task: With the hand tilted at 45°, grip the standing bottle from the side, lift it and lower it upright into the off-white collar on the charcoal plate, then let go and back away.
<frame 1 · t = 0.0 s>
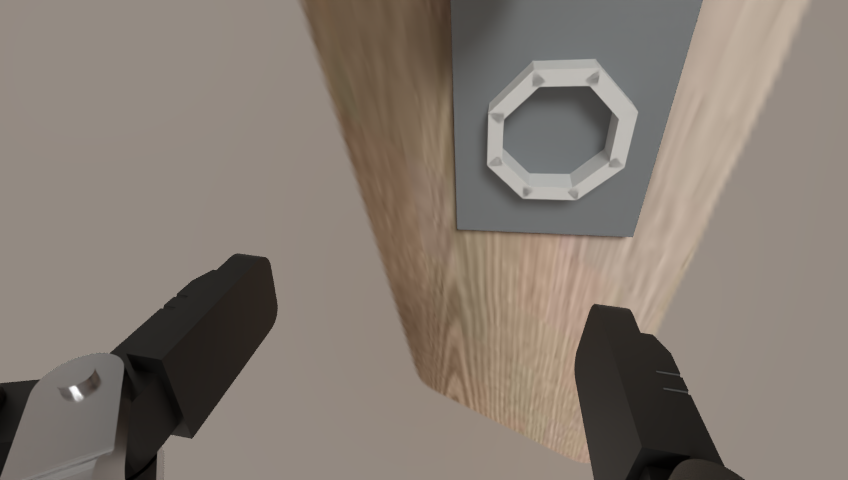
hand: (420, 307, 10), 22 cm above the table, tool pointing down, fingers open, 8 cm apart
collar plate: (553, 123, 29), on the table
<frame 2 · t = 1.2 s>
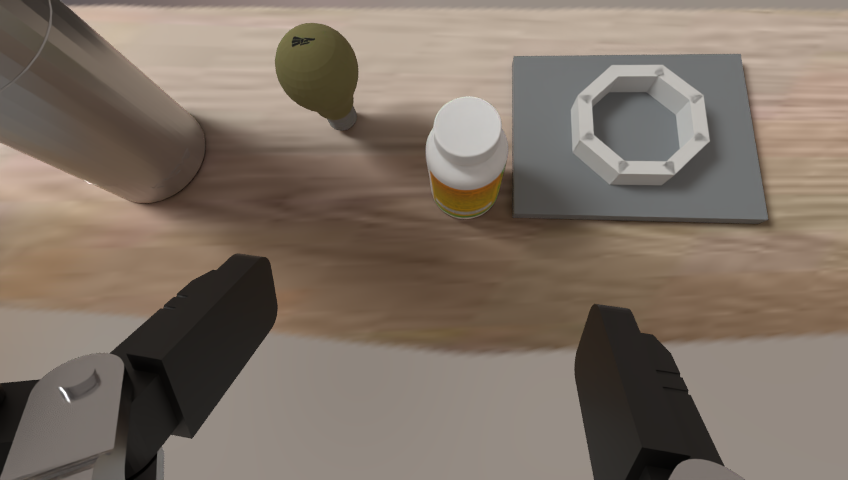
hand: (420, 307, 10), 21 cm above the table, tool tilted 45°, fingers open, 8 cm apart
collar plate: (625, 137, 33), on the table
light bulb: (345, 124, 36), on the table
supplement bottle: (464, 189, 33), on the table
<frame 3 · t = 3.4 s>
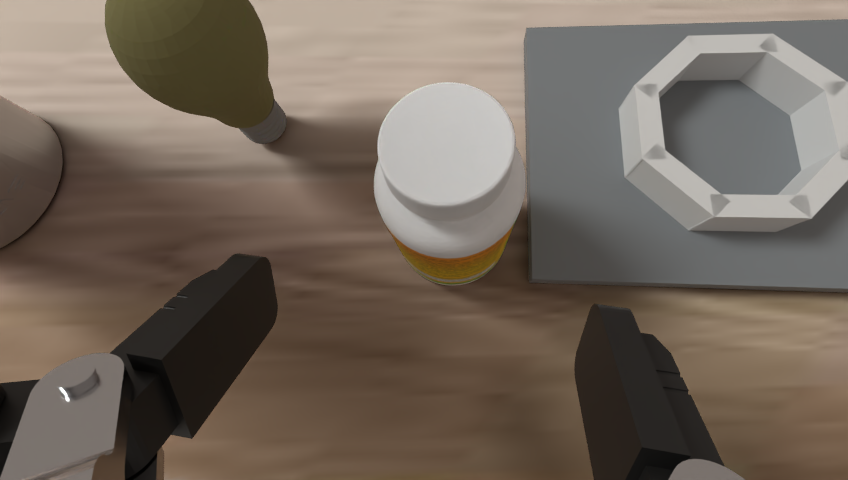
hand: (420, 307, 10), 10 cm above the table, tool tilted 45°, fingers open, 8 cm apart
collar plate: (705, 152, 21), on the table
light bulb: (272, 133, 24), on the table
supplement bottle: (452, 235, 21), on the table
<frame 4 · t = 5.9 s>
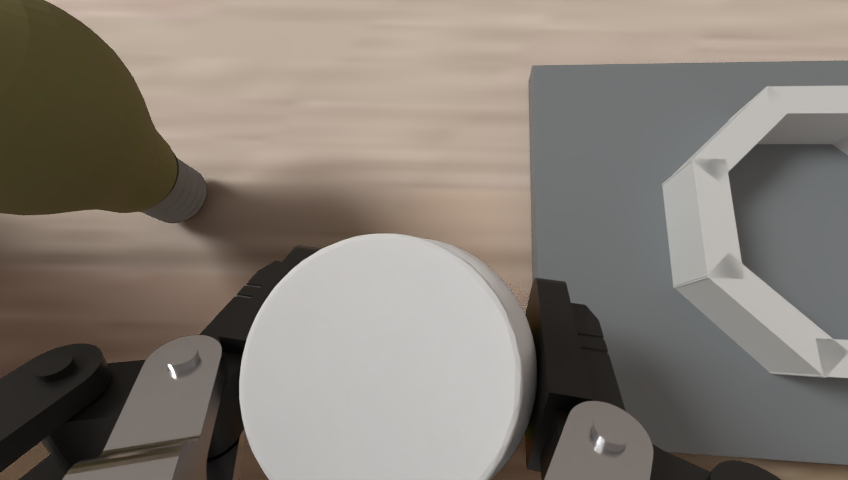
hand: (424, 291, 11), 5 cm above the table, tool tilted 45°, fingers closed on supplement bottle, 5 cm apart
collar plate: (784, 244, 15), on the table
light bulb: (192, 204, 18), on the table
supplement bottle: (428, 358, 15), on the table, touching gripper
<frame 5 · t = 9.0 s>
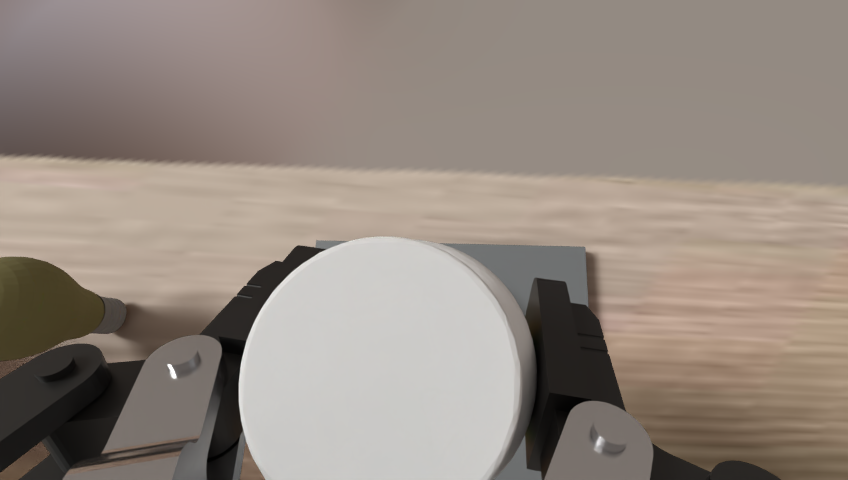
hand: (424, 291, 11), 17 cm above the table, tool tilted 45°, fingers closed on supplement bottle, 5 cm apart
collar plate: (443, 351, 27), on the table
light bulb: (120, 317, 29), on the table
supplement bottle: (428, 360, 15), point 12 cm above the table, touching gripper
when the fingers open (7 cm above the table, at t = 12.1 s): supplement bottle drops 1 cm, resting on collar plate.
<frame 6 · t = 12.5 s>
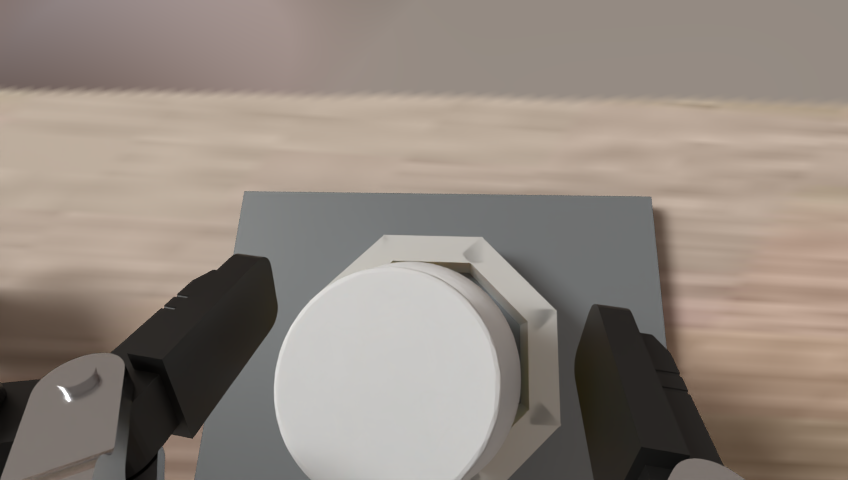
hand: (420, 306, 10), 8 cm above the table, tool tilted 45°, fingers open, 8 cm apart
collar plate: (432, 357, 17), on the table
supplement bottle: (429, 364, 16), point 1 cm above the table, touching collar plate
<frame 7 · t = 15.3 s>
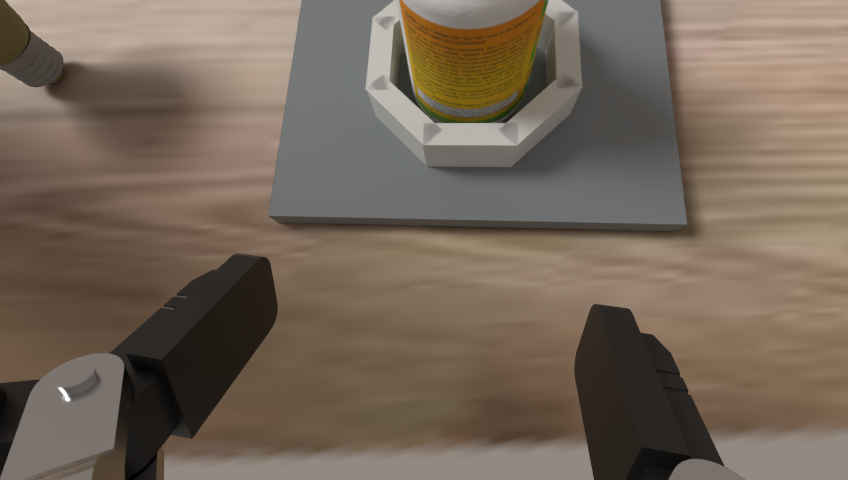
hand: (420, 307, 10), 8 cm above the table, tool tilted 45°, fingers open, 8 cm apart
collar plate: (470, 92, 20), on the table
light bulb: (58, 79, 23), on the table
supplement bottle: (469, 87, 20), point 1 cm above the table, touching collar plate
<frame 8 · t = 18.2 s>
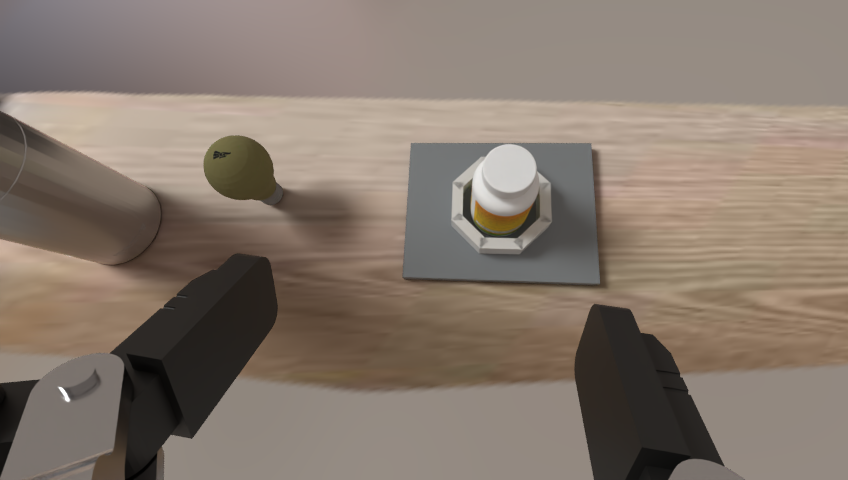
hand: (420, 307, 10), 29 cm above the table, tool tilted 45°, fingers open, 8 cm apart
collar plate: (498, 212, 41), on the table
light bulb: (275, 197, 43), on the table
supplement bottle: (498, 211, 40), point 1 cm above the table, touching collar plate
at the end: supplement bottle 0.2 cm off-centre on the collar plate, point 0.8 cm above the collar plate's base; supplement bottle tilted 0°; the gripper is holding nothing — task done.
